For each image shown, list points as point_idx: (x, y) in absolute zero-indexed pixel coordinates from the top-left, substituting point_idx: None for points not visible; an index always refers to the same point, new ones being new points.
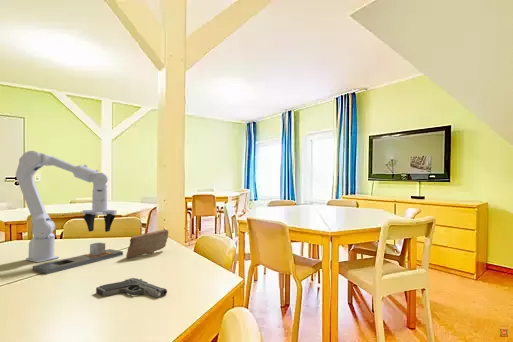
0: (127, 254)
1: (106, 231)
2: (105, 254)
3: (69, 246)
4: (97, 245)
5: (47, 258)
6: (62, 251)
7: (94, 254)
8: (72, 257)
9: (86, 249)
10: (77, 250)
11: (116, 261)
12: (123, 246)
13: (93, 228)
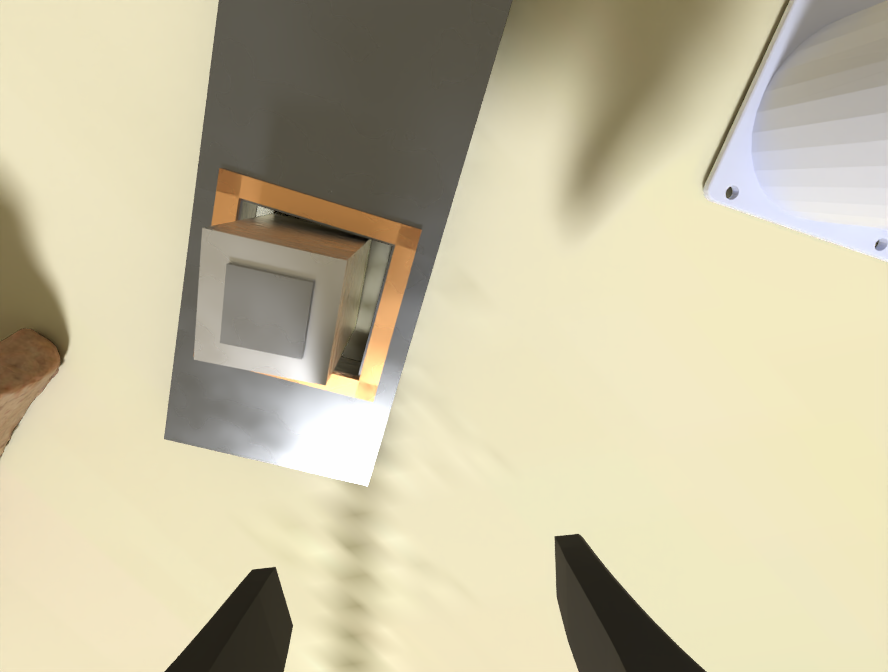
0: (3, 344)
1: (254, 573)
2: None
3: (880, 566)
4: (203, 239)
5: (773, 83)
6: (834, 418)
7: (285, 224)
8: (476, 109)
9: (660, 514)
10: (718, 472)
11: (30, 207)
12: (415, 646)
13: (568, 637)
